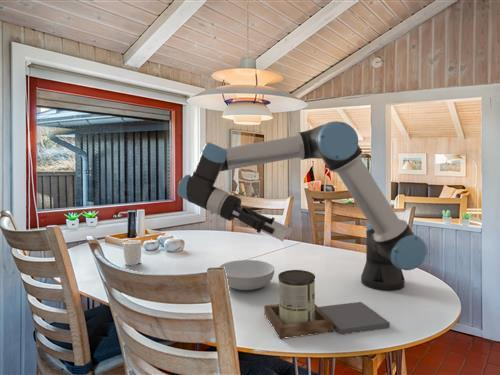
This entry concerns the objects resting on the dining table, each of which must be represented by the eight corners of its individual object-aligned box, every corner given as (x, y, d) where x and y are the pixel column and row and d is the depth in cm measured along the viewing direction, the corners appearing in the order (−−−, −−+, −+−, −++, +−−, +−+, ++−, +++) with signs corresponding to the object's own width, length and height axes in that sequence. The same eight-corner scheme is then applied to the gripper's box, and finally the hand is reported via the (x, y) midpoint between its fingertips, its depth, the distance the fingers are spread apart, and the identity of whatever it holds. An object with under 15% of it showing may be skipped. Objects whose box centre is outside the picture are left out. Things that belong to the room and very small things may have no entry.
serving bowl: (212, 295, 128) (211, 276, 127) (224, 276, 149) (224, 259, 148) (272, 297, 125) (272, 277, 124) (276, 277, 146) (276, 260, 145)
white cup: (136, 266, 163) (135, 244, 162) (120, 265, 165) (119, 243, 164) (145, 261, 171) (144, 240, 170) (129, 260, 172) (128, 239, 171)
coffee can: (277, 316, 111) (276, 270, 109) (311, 314, 111) (311, 269, 110) (281, 332, 100) (280, 281, 99) (318, 331, 101) (318, 280, 100)
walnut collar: (311, 309, 115) (310, 300, 114) (332, 331, 100) (332, 321, 100) (264, 315, 111) (264, 305, 111) (280, 339, 97) (280, 328, 96)
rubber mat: (360, 306, 116) (360, 301, 116) (389, 327, 102) (389, 322, 102) (316, 311, 113) (316, 307, 113) (339, 334, 98) (339, 329, 98)
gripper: (231, 215, 125) (288, 242, 120) (205, 217, 101) (276, 251, 96) (240, 195, 125) (297, 221, 120) (216, 192, 100) (287, 225, 96)
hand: (288, 235), depth 108 cm, fingers open, 13 cm apart
